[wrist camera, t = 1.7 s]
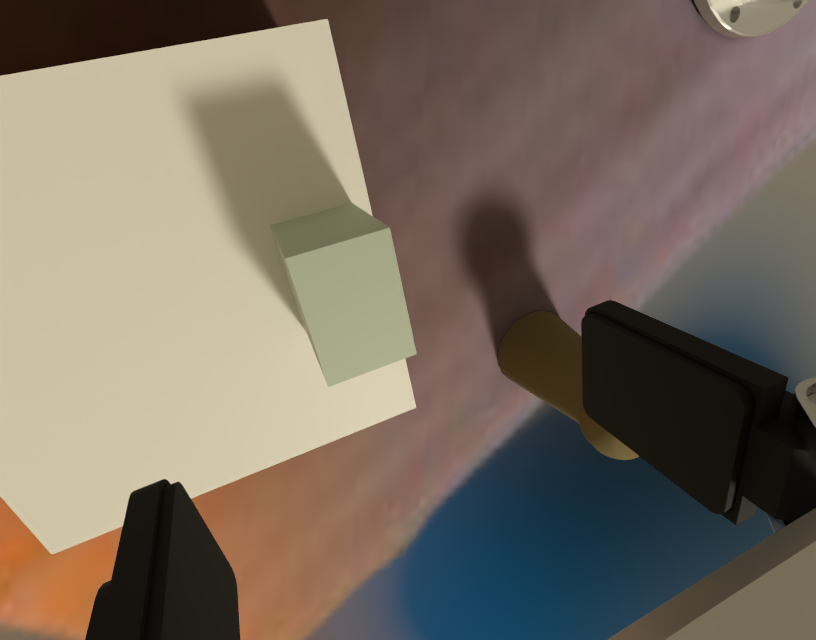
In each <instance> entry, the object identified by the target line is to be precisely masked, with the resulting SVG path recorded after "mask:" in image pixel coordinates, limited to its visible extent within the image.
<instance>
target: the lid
mask: <svg viewBox="0 0 816 640" xmlns="http://www.w3.org/2000/svg"><path fill="white" fill-rule="evenodd" d="M416 354H417V353H416V349H415V344H414V339H413V335H412V330H411V325H410V321H409V316H408V311H407V306H406V302H405V297H404V292H403V288H402V283H401V278H400V273H399V269H398V264H397V259H396V255H395V250H394V245H393V241H392V236H391V231H390V227H388V226H387V225H385V224H384V223H382V222H380V221H379V220H377V219H376V218H374V217H373V216H372V211H371V207H370V202H369V198H368V194H367V189H366V185H365V180H364V176H363V172H362V167H361V163H360V159H359V154H358V150H357V145H356V141H355V137H354V132H353V128H352V123H351V119H350V115H349V110H348V106H347V102H346V97H345V93H344V88H343V84H342V80H341V75H340V71H339V66H338V62H337V58H336V53H335V49H334V45H333V40H332V36H331V31H330V27H329V23H328V19H324V20H318V21H313V22H307V23H301V24H295V25H290V26H284V27H278V28H272V29H267V30H261V31H255V32H249V33H244V34H238V35H232V36H226V37H221V38H215V39H209V40H203V41H198V42H192V43H186V44H180V45H175V46H169V47H163V48H157V49H152V50H146V51H140V52H134V53H129V54H123V55H117V56H111V57H106V58H100V59H94V60H88V61H83V62H77V63H71V64H65V65H60V66H54V67H48V68H42V69H37V70H31V71H25V72H19V73H14V74H8V75H2V76H0V497H1V498H2V499H3V500H4V501H5V502H6V503H7V504H8V506H9V507H10V508H11V509H12V510H13V511H14V512H15V514H16V515H17V516H18V517H19V518H20V519H21V520H22V521H23V523H24V524H25V525H26V526H27V527H28V528H29V529H30V531H31V532H32V533H33V534H34V535H35V536H36V537H37V538H38V540H39V541H40V542H41V543H42V544H43V545H44V546H45V548H46V549H47V550H48V551H49V552H50V553H51V554H55V553H57V552H60V551H62V550H65V549H67V548H70V547H72V546H75V545H77V544H79V543H82V542H84V541H87V540H89V539H92V538H94V537H97V536H99V535H102V534H104V533H107V532H109V531H112V530H114V529H117V528H119V527H122V526H123V524H124V519H125V514H126V510H127V505H128V500H129V497H130V494H131V493H132V492H133V491H135V490H137V489H140V488H142V487H145V486H147V485H150V484H152V483H155V482H157V481H160V480H162V479H166V480H168V481H169V482H170V484H173V483H176V482H180V483H181V484H182V485H183V487H184V488H185V490H186V492H187V493H188V495H189V497H190V498H193V497H196V496H198V495H201V494H203V493H206V492H208V491H211V490H213V489H216V488H218V487H221V486H223V485H226V484H228V483H231V482H233V481H236V480H238V479H240V478H243V477H245V476H248V475H250V474H253V473H255V472H258V471H260V470H263V469H265V468H268V467H270V466H273V465H275V464H278V463H280V462H283V461H285V460H288V459H290V458H292V457H295V456H297V455H300V454H302V453H305V452H307V451H310V450H312V449H315V448H317V447H320V446H322V445H325V444H327V443H330V442H332V441H335V440H337V439H340V438H342V437H344V436H347V435H349V434H352V433H354V432H357V431H359V430H362V429H364V428H367V427H369V426H372V425H374V424H377V423H379V422H382V421H384V420H387V419H389V418H392V417H394V416H397V415H399V414H401V413H404V412H406V411H409V410H411V409H414V408H416V404H415V400H414V395H413V391H412V387H411V382H410V378H409V373H408V369H407V365H406V360H405V358H408V357H410V356H413V355H416Z"/></svg>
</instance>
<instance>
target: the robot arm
mask: <svg viewBox="0 0 816 640" xmlns="http://www.w3.org/2000/svg"><path fill="white" fill-rule="evenodd" d="M808 1H809V0H694V2H695V4H696V6H697V8H698V10H699V12H700V14H701V16H702V18H703V19H704V20H705V21H706V22H707V23H708V24H709V25H710V27H711V28H712V29H714V30H715V31H717V32H719V33H720V34H722V35H723V36H727V37H732V38H747V37H755V36H759V35H764V34H768V33H770V32H772V31H774V30H776V29H777V28H779V27H781V26H783V25H784V24H785V23H786V22H788V21H789V20H790V19H791V18H793V17H794V16H795V15H796V14H797V13H798V12H799V11H800V10H801V9H802V8H803V7H804V5H805V4H806V3H807V2H808ZM581 325H582V396H583V408H584V410H585V412H586V414H587V415H588V416H589V417H590V418H591V419H592V420H593V421H595V422H596V423H597V424H599V425H600V426H601V427H602V428H604V429H605V430H606V431H608V432H609V433H610V434H612V435H613V436H614V437H615V438H617V439H618V440H619V441H621V442H622V443H623V444H624V445H626V446H627V447H628V448H630V449H631V450H632V451H633V452H635V453H636V454H637V455H639V456H640V457H641V458H642V459H644V460H645V461H646V462H648V463H649V464H650V465H652V466H653V467H654V468H655V469H657V470H658V471H659V472H661V473H662V474H663V475H664V476H666V477H667V478H668V479H670V480H671V481H672V482H673V483H675V484H676V485H678V486H679V487H680V488H681V489H682V490H684V491H685V492H686V493H688V494H689V495H690V496H691V497H693V498H694V499H695V500H697V501H698V502H699V503H701V504H702V505H703V506H704V507H706V508H707V509H708V510H710V511H711V512H713V513H716V514H722V515H723V516H724V517H726V518H727V519H729V520H730V521H731V522H732V523H734V524H735V525H737V524H739V523H741V522H742V521H744V520H746V519H747V518H749V517H750V516H752V515H754V514H755V512H756V508H757V506H758V507H759V508H760V509H762V510H763V511H765V512H766V513H767V515H768V518H769V521H770V523H771V526H772V528H773V530H774V533H775V534H773V535H771V536H770V537H768V538H767V539H765V540H764V541H762V542H760V543H759V544H757V545H756V546H754V547H752V548H751V549H749V550H748V551H746V552H745V553H743V554H741V555H740V556H738V557H737V558H735V559H734V560H732V561H730V562H729V563H727V564H726V565H724V566H722V567H721V568H719V569H718V570H716V571H715V572H713V573H711V574H710V575H708V576H706V577H705V578H703V579H702V580H700V581H699V582H697V583H695V584H694V585H692V586H691V587H689V588H688V589H686V590H684V591H683V592H681V593H680V594H678V595H677V596H675V597H674V598H672V599H671V600H669V601H667V602H666V603H664V604H663V605H661V606H659V607H658V608H656V609H655V610H653V611H652V612H650V613H648V614H647V615H645V616H644V617H642V618H641V619H639V620H637V621H636V622H634V623H633V624H631V625H630V626H628V627H627V628H625V629H623V630H622V631H620V632H619V633H617V634H616V635H614V636H612V637H611V638H609V639H608V640H816V377H815V378H811V379H807V380H804V381H803V382H801V383H800V384H798V385H797V387H796V390H795V394H792V393H790V392H788V391H785V389H786V385H787V381H788V377H786V376H783V375H781V374H779V373H777V372H774V371H772V370H770V369H767V368H765V367H763V366H761V365H758V364H756V363H754V362H752V361H749V360H747V359H745V358H742V357H740V356H738V355H736V354H733V353H731V352H729V351H727V350H724V349H722V348H720V347H717V346H715V345H713V344H711V343H708V342H706V341H704V340H702V339H699V338H697V337H695V336H693V335H690V334H688V333H686V332H683V331H681V330H679V329H677V328H674V327H672V326H670V325H668V324H665V323H663V322H661V321H659V320H656V319H654V318H652V317H649V316H647V315H645V314H643V313H640V312H638V311H636V310H634V309H631V308H629V307H627V306H624V305H622V304H620V303H618V302H615V301H612V300H609V301H606V302H603V303H601V304H598V305H596V306H593V307H591V308H589V309H587V311H586V313H585V317H583V319H582V323H581ZM85 640H240V629H239V612H238V595H237V583H236V579H235V575H234V572H233V570H232V568H231V566H230V564H229V562H228V561H227V559H226V557H225V556H224V554H223V552H222V551H221V549H220V547H219V546H218V544H217V542H216V540H215V539H214V537H213V535H212V534H211V532H210V530H209V529H208V527H207V525H206V524H205V522H204V520H203V519H202V517H201V515H200V514H199V512H198V510H197V509H196V507H195V505H194V503H193V502H192V500H191V498H190V497H189V495H188V493H187V492H186V490H185V488H184V487H183V485H182V484H181V483H180V482H176V483H173V484H170V482H169V481H168V480H166V479H162V480H160V481H157V482H155V483H152V484H150V485H147V486H145V487H142V488H140V489H137V490H135V491H133V492H132V493H131V494H130V497H129V500H128V505H127V510H126V514H125V519H124V524H123V528H122V533H121V537H120V542H119V547H118V551H117V556H116V561H115V565H114V570H113V575H112V579H111V581H108V582H106V583H104V584H103V585H102V586H101V587H100V589H99V590H98V593H97V595H96V598H95V602H94V606H93V610H92V614H91V618H90V622H89V627H88V631H87V635H86V639H85Z"/></svg>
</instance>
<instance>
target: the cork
mask: <svg viewBox="0 0 816 640" xmlns="http://www.w3.org/2000/svg"><path fill="white" fill-rule="evenodd" d="M498 364H499V367H500V369H501V371H502V373H503V374H504V375H505V376H506V377H507V378H508V379H510V380H511V381H513V382H515V383H516V384H518V385H519V386H521V387H522V388H524V389H526V390H527V391H529V392H530V393H532V394H534V395H535V396H537V397H538V398H540V399H542V400H543V401H545V402H546V403H548V404H549V405H551V406H553V407H554V408H556V409H557V410H559V411H561V412H562V413H564V414H565V415H567V416H568V417H570V418H572V419H573V420H575V421H576V422H578V423H580V427H581V430H582V433H583V434H584V436H585V437H586V439H587V441H588V442H590V443H591V444H592V445H593V446H594V447H595V448H596V449H597V450H598V451H599V452H600V453H602V454H604V455H606V456H608V457H612V458H615V459H621V460H629V459H634V458H636V457H639V455H637V454H636V453H635V452H633V451H632V450H631V449H630V448H628V447H627V446H626V445H624V444H623V443H622V442H621V441H619V440H618V439H617V438H615V437H614V436H613V435H612V434H610V433H609V432H608V431H606V430H605V429H604V428H602V427H601V426H600V425H599V424H597V423H596V422H595V421H593V420H592V419H591V418H590V417H589V416H588V415H587V414H586V412H585V410H584V408H583V396H582V337H581V336H580V335H579V334H578V333H577V332H575V331H574V330H573V329H572V328H571V327H570V326H568V325H567V324H566V323H565V322H564V321H563V320H562V319H560V318H559V317H558V316H557V315H555V314H553V313H551V312H549V311H535V312H532V313H529V314H526V315H525V316H523V317H522V318H520V319H518V320H517V321H516V322H515V323H514V324H513V325H512V326H511V327H510V328H509V329H508V330H507V332H506V334H505V335H504V337H503V339H502V341H501V343H500V347H499V351H498Z"/></svg>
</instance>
